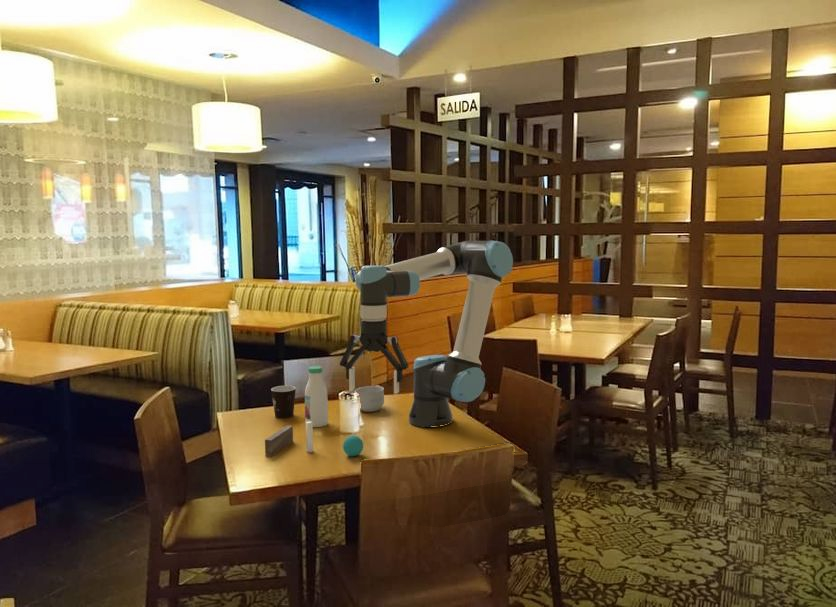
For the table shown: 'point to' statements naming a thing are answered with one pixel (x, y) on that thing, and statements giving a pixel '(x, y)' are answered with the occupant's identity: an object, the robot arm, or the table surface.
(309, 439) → the pin
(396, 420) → the table surface
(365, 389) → the teacup
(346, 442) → the ball
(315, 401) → the milk bottle
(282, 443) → the back wall
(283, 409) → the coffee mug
